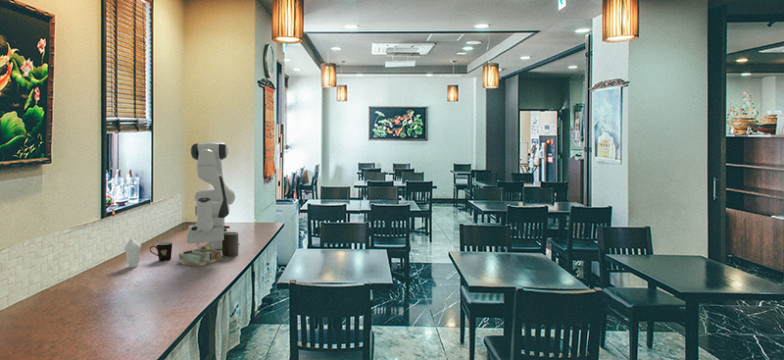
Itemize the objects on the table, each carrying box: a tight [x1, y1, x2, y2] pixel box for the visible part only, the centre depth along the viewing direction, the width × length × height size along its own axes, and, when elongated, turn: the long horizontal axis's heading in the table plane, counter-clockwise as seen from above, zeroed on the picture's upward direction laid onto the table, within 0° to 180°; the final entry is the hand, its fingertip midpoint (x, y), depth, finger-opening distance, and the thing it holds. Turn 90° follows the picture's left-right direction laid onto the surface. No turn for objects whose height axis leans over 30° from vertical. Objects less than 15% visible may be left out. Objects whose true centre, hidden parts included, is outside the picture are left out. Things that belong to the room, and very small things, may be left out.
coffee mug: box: [149, 241, 173, 262], centre depth 277 cm, size 12×9×10 cm
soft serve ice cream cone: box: [123, 238, 142, 268], centre depth 262 cm, size 8×8×16 cm
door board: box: [178, 248, 222, 268], centre depth 274 cm, size 17×16×7 cm
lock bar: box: [201, 243, 211, 254], centre depth 274 cm, size 12×4×5 cm, turn 35°
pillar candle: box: [221, 231, 239, 258], centre depth 289 cm, size 10×10×15 cm
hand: (205, 249), depth 270 cm, fingers open, 5 cm apart
